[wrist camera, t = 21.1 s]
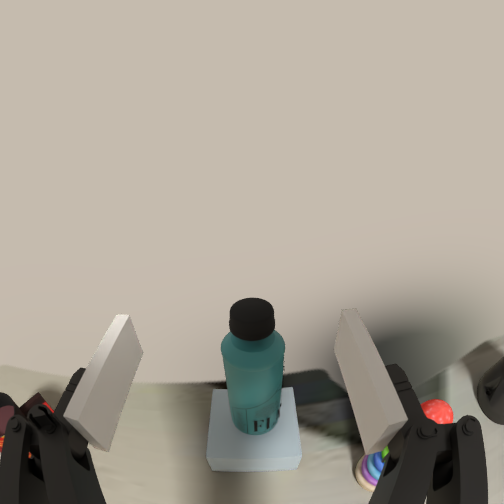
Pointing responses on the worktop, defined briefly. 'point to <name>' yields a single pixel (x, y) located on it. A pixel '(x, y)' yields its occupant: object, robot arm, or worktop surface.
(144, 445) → the worktop surface
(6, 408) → the mug
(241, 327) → the beverage bottle
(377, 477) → the stacking toy
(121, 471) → the worktop surface
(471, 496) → the robot arm
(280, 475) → the worktop surface
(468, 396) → the worktop surface
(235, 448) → the block
